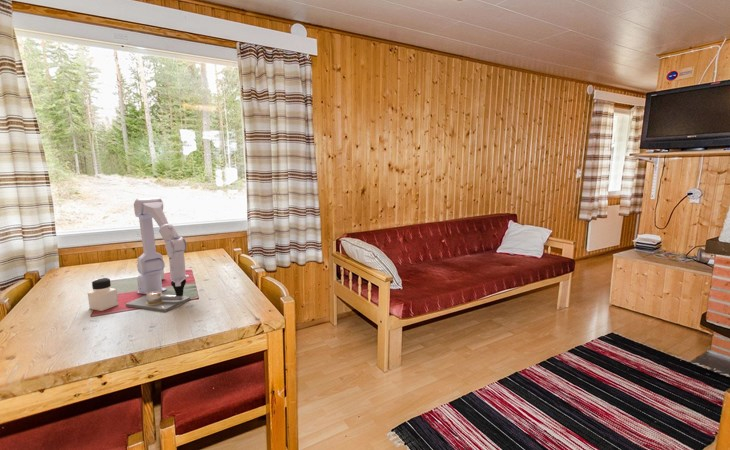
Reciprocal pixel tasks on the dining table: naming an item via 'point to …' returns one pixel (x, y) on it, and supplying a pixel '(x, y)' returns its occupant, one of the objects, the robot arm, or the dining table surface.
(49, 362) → the dining table surface
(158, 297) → the tan piece
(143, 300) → the board
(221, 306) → the dining table surface
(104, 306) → the medicine bottle
